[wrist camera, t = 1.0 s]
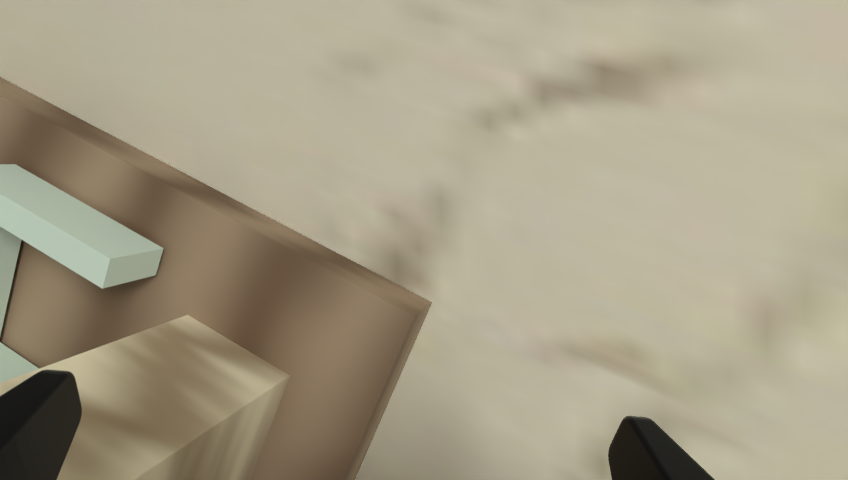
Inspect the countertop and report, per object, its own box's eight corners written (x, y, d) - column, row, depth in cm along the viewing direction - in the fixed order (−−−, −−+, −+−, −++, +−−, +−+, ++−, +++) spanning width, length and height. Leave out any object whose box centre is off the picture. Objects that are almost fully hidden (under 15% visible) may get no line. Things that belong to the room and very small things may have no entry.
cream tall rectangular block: (290, 375, 22) (-67, 613, 10) (250, 479, 23) (-106, 792, 12) (187, 314, 23) (-235, 467, 11) (155, 416, 24) (-253, 645, 13)
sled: (163, 248, 22) (43, 272, 18) (107, 441, 25) (-13, 507, 20) (15, 164, 24) (-130, 165, 19) (-24, 350, 27) (-162, 392, 22)
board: (431, 302, 21) (373, 347, 16) (311, 578, 25) (232, 687, 20) (-4, 75, 27) (-151, 55, 22) (-53, 328, 30) (-189, 362, 25)
